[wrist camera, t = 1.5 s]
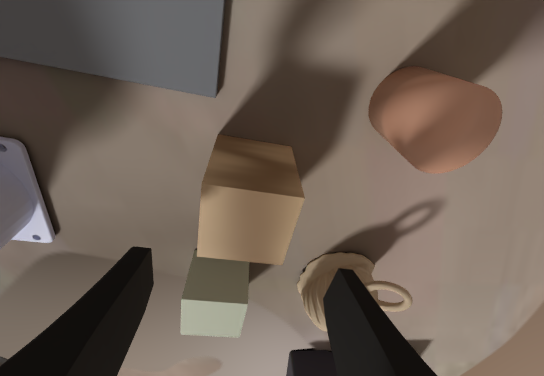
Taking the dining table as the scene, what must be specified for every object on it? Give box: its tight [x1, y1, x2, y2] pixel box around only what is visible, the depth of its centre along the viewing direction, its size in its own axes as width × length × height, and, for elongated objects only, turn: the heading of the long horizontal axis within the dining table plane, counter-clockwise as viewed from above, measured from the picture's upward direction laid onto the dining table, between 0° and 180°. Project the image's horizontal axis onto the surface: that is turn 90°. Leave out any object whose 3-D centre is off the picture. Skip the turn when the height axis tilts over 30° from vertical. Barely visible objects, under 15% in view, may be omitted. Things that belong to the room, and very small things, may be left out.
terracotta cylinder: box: [369, 66, 502, 173], centre depth 13 cm, size 4×4×4 cm
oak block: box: [197, 134, 305, 265], centre depth 15 cm, size 4×4×6 cm
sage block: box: [181, 250, 249, 337], centre depth 20 cm, size 4×4×4 cm
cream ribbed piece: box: [297, 252, 412, 331], centre depth 20 cm, size 4×8×5 cm, turn 122°
